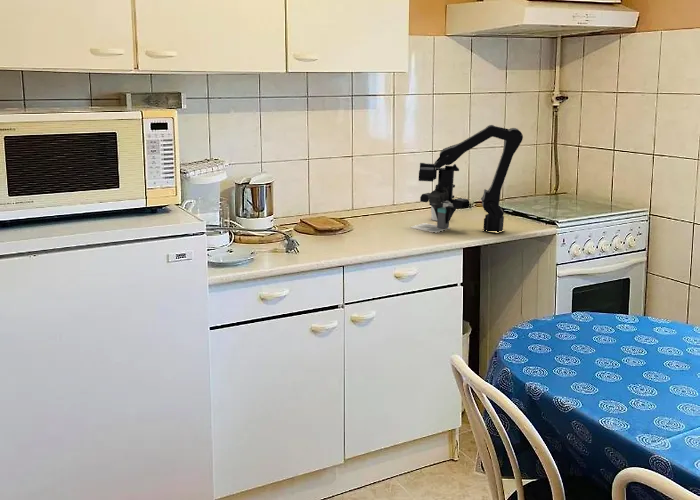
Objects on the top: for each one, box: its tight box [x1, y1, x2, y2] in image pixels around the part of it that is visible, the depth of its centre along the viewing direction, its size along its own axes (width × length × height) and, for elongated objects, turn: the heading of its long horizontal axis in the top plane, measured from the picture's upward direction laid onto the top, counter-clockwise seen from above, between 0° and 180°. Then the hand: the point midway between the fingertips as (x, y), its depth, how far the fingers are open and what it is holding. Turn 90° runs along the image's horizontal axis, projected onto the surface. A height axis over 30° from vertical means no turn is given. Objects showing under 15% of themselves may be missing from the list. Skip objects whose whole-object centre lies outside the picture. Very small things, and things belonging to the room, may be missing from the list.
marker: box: [436, 207, 450, 229], centre depth 291 cm, size 3×3×7 cm
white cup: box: [430, 202, 449, 222], centre depth 307 cm, size 8×8×10 cm
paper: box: [409, 222, 451, 234], centre depth 293 cm, size 12×10×1 cm
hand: (443, 222), depth 292 cm, fingers closed on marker, 3 cm apart
